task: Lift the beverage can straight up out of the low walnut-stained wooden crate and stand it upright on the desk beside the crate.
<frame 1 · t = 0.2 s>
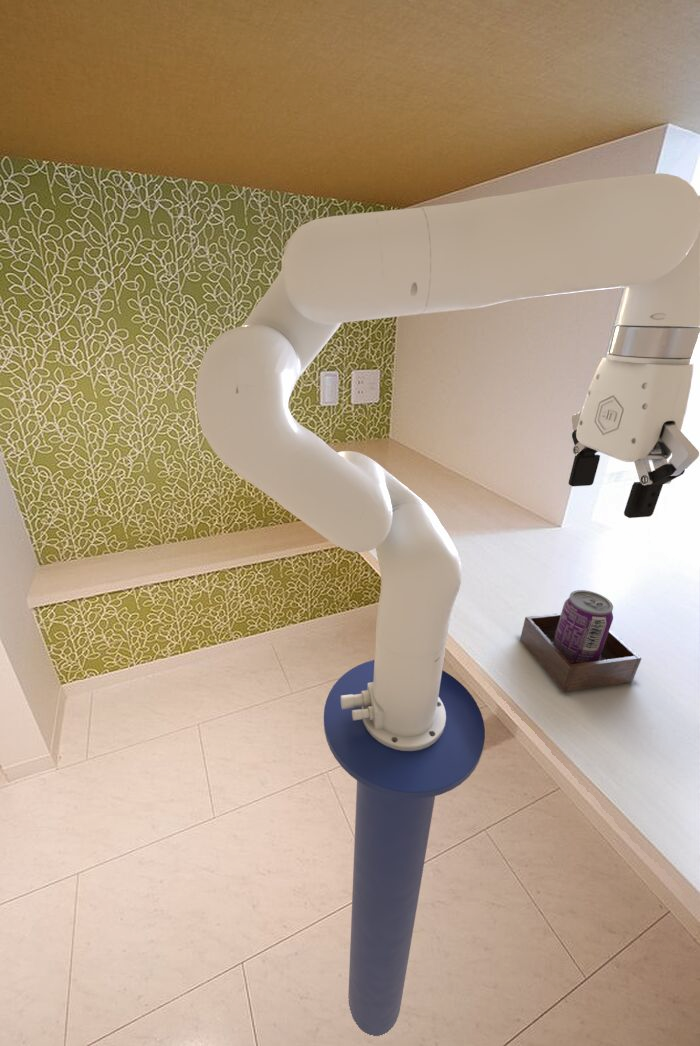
hand: (606, 499, 52), 33 cm above the table, tool pointing down, fingers open, 9 cm apart
beverage can: (572, 660, 74), resting in crate
crate: (572, 659, 73), on the table
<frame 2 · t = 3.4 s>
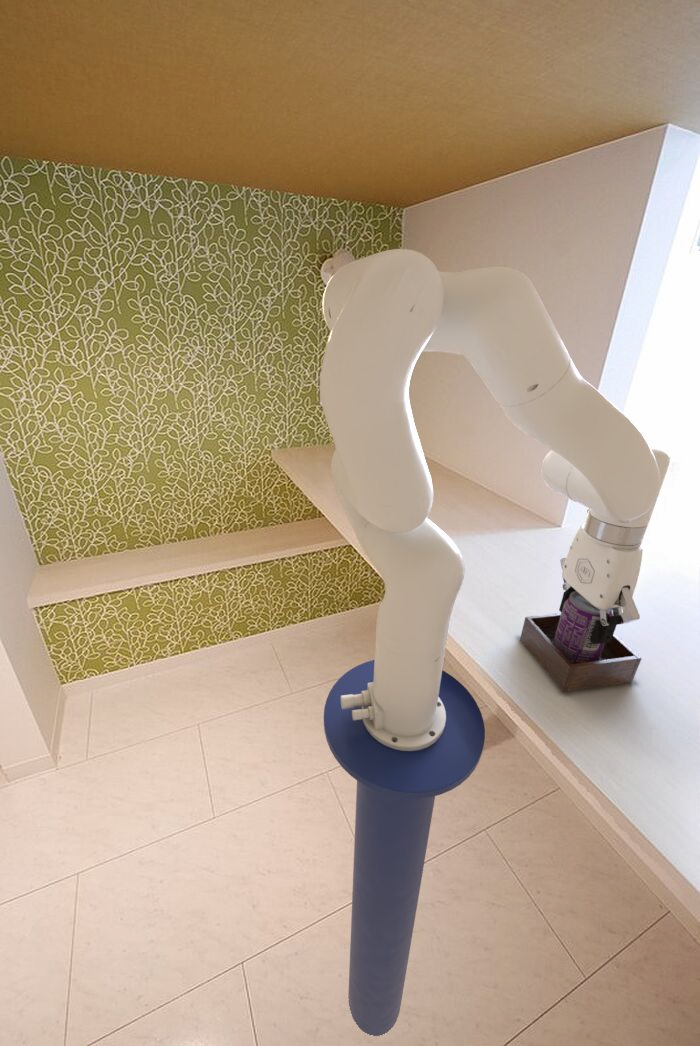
hand: (583, 625, 70), 7 cm above the table, tool pointing down, fingers closed on beverage can, 7 cm apart
beverage can: (572, 660, 74), resting in crate, touching gripper
when the fingers open (7 cm above the table, at t = 10.3 s): beverage can stays where it is, on the table.
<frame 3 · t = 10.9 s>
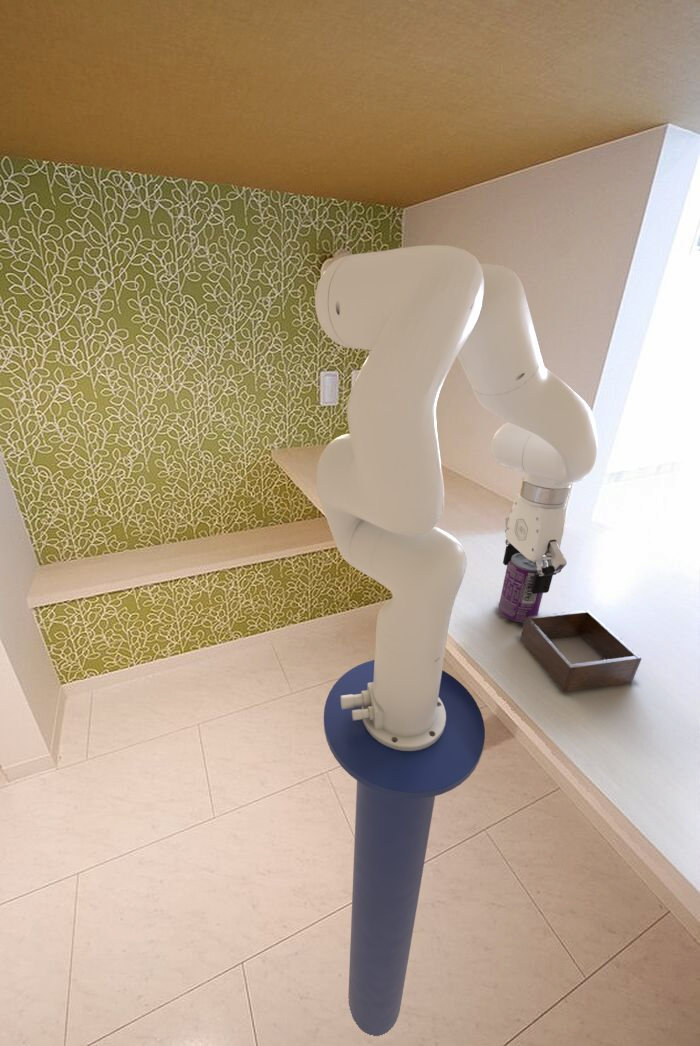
hand: (524, 577, 81), 9 cm above the table, tool pointing down, fingers open, 9 cm apart
beverage can: (516, 614, 85), on the table
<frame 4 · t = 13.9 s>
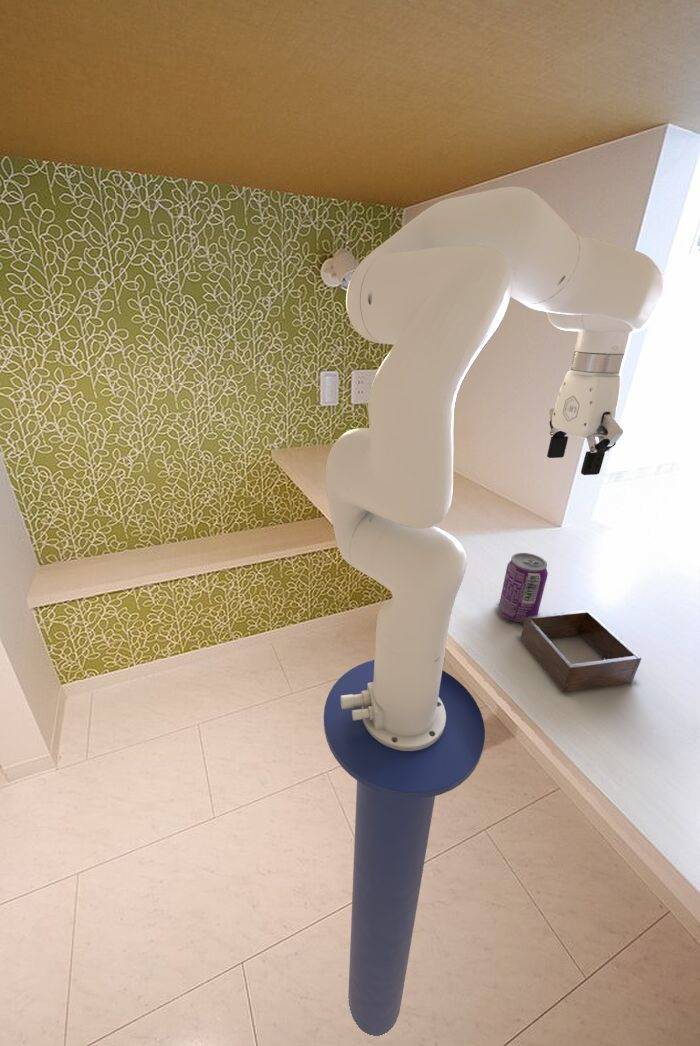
hand: (571, 465, 78), 28 cm above the table, tool pointing down, fingers open, 9 cm apart
nothing on the table moved.
at the end: beverage can inside the target area (0.5 cm from its centre), on the table; beverage can tilted 0°; the gripper is holding nothing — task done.
